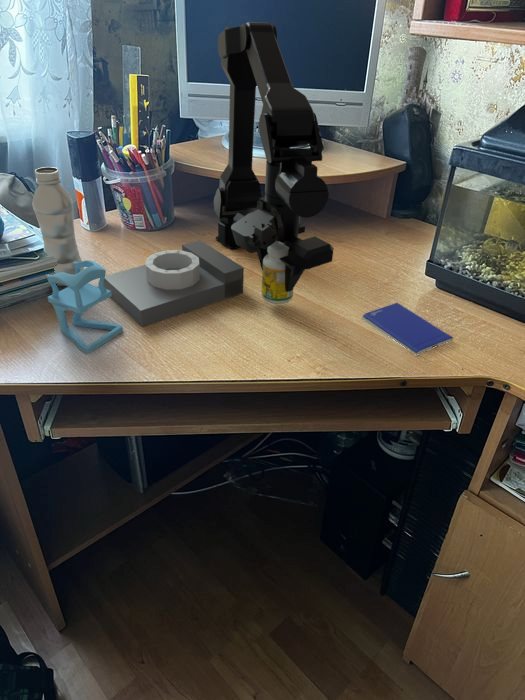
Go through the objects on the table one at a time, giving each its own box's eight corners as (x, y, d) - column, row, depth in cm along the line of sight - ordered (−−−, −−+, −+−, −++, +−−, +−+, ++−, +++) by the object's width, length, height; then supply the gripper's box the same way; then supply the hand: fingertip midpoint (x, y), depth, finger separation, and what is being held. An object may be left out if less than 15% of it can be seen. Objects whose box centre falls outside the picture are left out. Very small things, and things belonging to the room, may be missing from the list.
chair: (85, 315, 90) (73, 247, 83) (124, 330, 86) (114, 261, 79) (48, 337, 84) (32, 266, 77) (88, 354, 81) (74, 281, 74)
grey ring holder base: (200, 263, 107) (200, 235, 103) (243, 292, 98) (243, 262, 94) (104, 291, 96) (100, 260, 93) (142, 326, 87) (138, 293, 84)
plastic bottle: (74, 270, 102) (55, 161, 91) (93, 283, 99) (75, 171, 87) (41, 280, 99) (17, 168, 87) (59, 294, 95) (37, 179, 83)
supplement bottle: (297, 303, 92) (301, 250, 86) (266, 307, 91) (269, 253, 85) (286, 288, 96) (290, 237, 91) (257, 291, 95) (259, 239, 89)
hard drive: (362, 313, 92) (417, 350, 83) (398, 301, 95) (453, 335, 87) (361, 321, 92) (415, 359, 84) (396, 309, 96) (451, 344, 88)
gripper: (205, 184, 85) (207, 274, 94) (281, 224, 73) (275, 323, 82) (261, 173, 90) (258, 259, 99) (341, 208, 79) (329, 302, 88)
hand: (277, 284), depth 92 cm, fingers closed on supplement bottle, 5 cm apart
